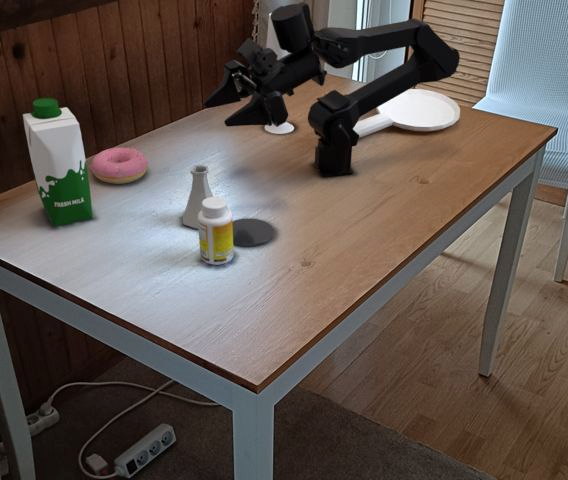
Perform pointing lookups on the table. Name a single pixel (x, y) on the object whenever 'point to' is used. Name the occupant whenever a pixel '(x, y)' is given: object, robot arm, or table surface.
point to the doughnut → (119, 165)
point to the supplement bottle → (215, 231)
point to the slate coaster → (251, 232)
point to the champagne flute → (274, 45)
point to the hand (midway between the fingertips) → (214, 114)
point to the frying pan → (412, 113)
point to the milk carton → (58, 162)
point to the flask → (197, 195)
